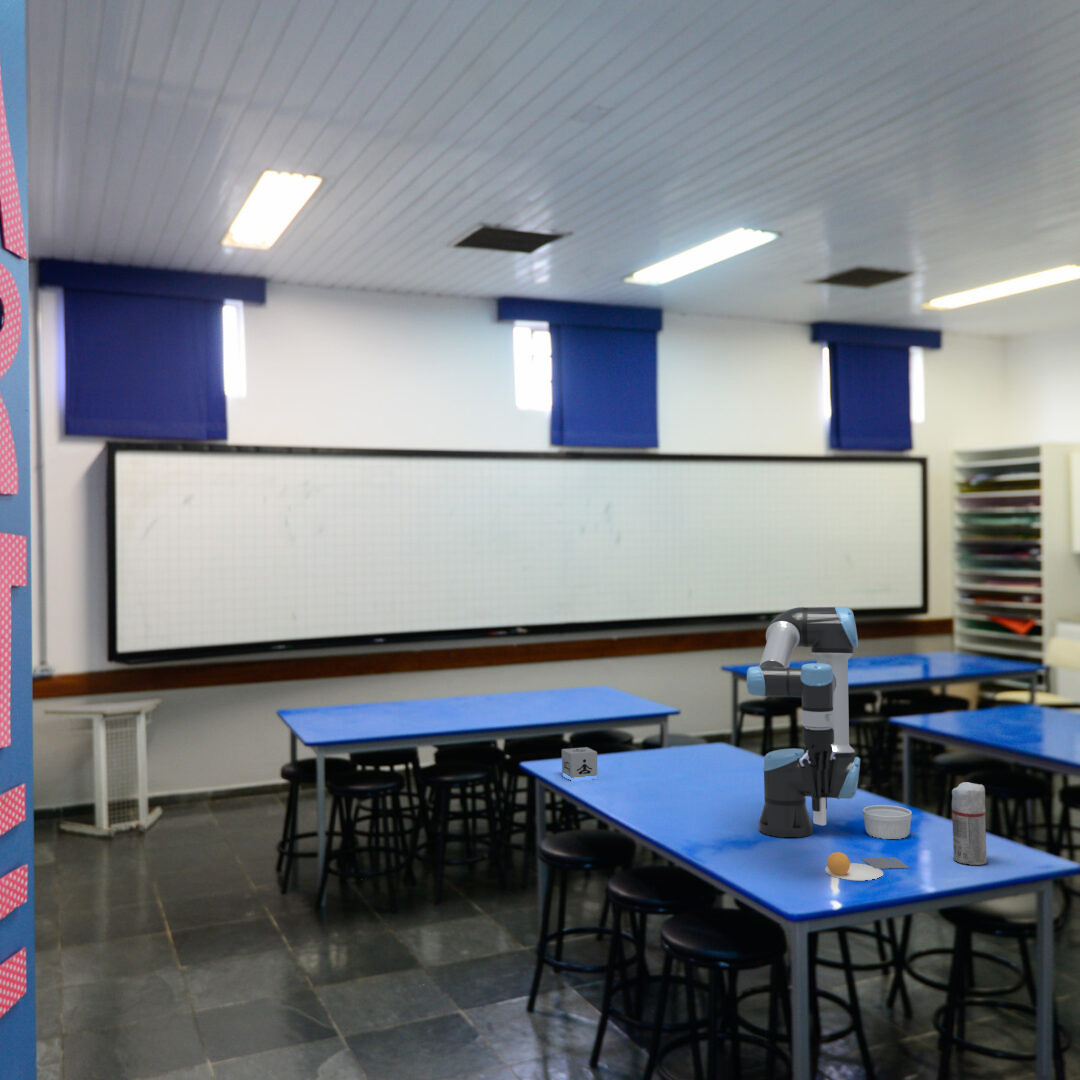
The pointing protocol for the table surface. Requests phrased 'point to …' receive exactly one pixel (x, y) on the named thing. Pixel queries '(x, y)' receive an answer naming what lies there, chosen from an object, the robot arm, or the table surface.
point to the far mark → (885, 863)
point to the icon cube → (579, 762)
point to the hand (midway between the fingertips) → (819, 823)
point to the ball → (838, 863)
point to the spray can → (969, 824)
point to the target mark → (858, 872)
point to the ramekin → (887, 821)
